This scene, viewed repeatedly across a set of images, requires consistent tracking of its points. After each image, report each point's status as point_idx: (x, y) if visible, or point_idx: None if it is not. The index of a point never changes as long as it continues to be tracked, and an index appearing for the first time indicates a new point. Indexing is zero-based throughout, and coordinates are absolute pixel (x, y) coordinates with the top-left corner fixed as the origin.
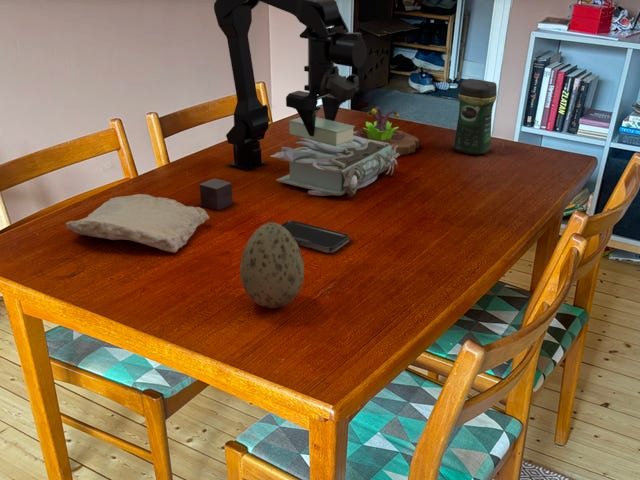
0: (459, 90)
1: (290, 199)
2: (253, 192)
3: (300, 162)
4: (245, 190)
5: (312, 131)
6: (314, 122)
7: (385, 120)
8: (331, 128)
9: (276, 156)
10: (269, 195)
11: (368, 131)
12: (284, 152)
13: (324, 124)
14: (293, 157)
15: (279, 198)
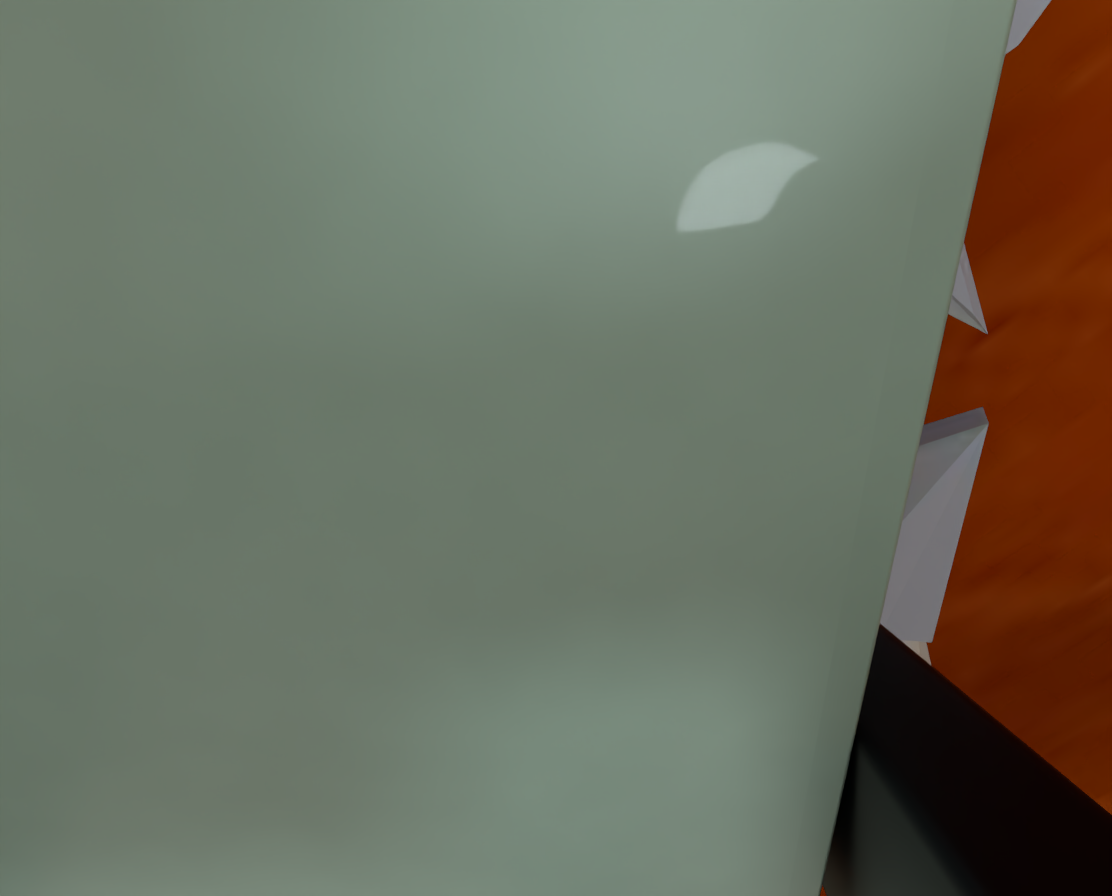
0: None
1: (1038, 89)
2: (1036, 469)
3: (974, 302)
4: (1025, 538)
5: (900, 642)
6: (1035, 869)
7: None
8: (617, 224)
9: (924, 658)
10: (1036, 327)
11: None
12: (933, 632)
13: (390, 739)
14: (911, 482)
15: (1066, 199)
